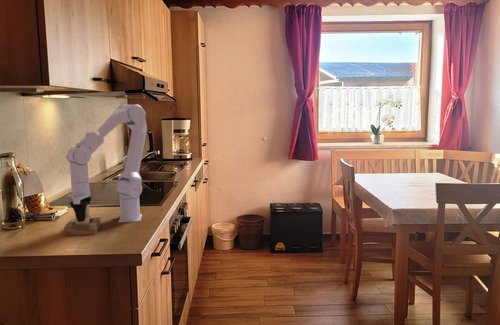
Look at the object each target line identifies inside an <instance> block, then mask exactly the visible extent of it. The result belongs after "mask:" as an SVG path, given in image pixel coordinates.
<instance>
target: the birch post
mask: <svg viewBox="0 0 500 325" xmlns="http://www.w3.org/2000/svg"><path fill="white" fill-rule="evenodd" d="M90 211H91V210H90V204H87V207H86V214H85V221H81V222H78V220H77V217H76V214H75V213H74V219H75V220H76V225H80V224H90V218H91V213H90Z"/></svg>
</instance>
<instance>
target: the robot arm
mask: <svg viewBox="0 0 500 325" xmlns="http://www.w3.org/2000/svg"><path fill="white" fill-rule="evenodd" d="M146 115H147V112H146V111H145V110H144V108H143V106H141V105H140V104H137V103H136V104H135V103H134V104H125V103H123V104H120V105H119V106H118V108H116V109H114V111H113V112H112V114H111V115H110V116H109V117H108V118H107V119H106V120H105V121H104V122H103V123H102V124H101V125H100V126H99V128H98V129H97V130H96V131H95V130H94V131H93V130H92V131H91V130H90V132H86V133H85V137H83V139H82V140H80V141H79V142H76V143H75V146H73V147H71V148H69V149H68V151H67V153H66V155H65V158H66V160H67V161H68V162H69V168H70V170H69V172H70V174H69V175H70V185H71V186H70V187H71V193H69V194H68V198H70V197H71V198H72V201H70V204H69V205H70V206H71V208H72V210H73V211H74V215H75V214H76V217H77V220H78V222H81V221H85V214H86V207H87V204H89V205H90V204H91V200H92V199H93V197H92V196H91V193H90V179H89V178H90V176H89V164H88V162H90V161H91V157H92V155H93V154H94V153H95V152H96V151H97V150H98V149H99V148H100V147H101V146H102V145H103V144H104V143H105V141H104V140H105V139H104V138H105V137H106V136H108V134H110V133H111V132H112V131H113V130H114V129H115V128H116V127H118V126H119V125H120V124H126V125H127V126H128V127H129V129H130V130H131V133H130V139H129V143H128V149H127V154H126V158H125V163H124V164H125V165H124V170H123V171H122V172H121V173H120V174H119V178H118V180H117V182H116V183H115V190H116V193H118V196H119V208H120V209H119V212H120V215H119V216H120V217H119V220H118V223H133V222H134V223H136V222H141V221H142V216H143V213H141V212H140V211H141V210H140V208H141V207H140V206H141V205H140V195H141V194H142V192H143V186H142V180H143V179H142V177H141V174H140V169H141V163H142V158H143V154H144V148H145V142H146V136H147V132H148V125H147V120H146Z"/></svg>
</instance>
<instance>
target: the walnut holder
mask: <svg viewBox="0 0 500 325" xmlns="http://www.w3.org/2000/svg"><path fill="white" fill-rule="evenodd" d="M101 223H102V222H101V216H99V217H96V216H95V217H90V224H80V225H76V220H75V218H71V219H69V220H68V222H67V223H66V224H65V225H64V227H63V228H64V236H78V235H80V236H81V235H93V234H94V235H95V234H97V232H98V231H99V228H100V227H101V225H102V224H101Z"/></svg>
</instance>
